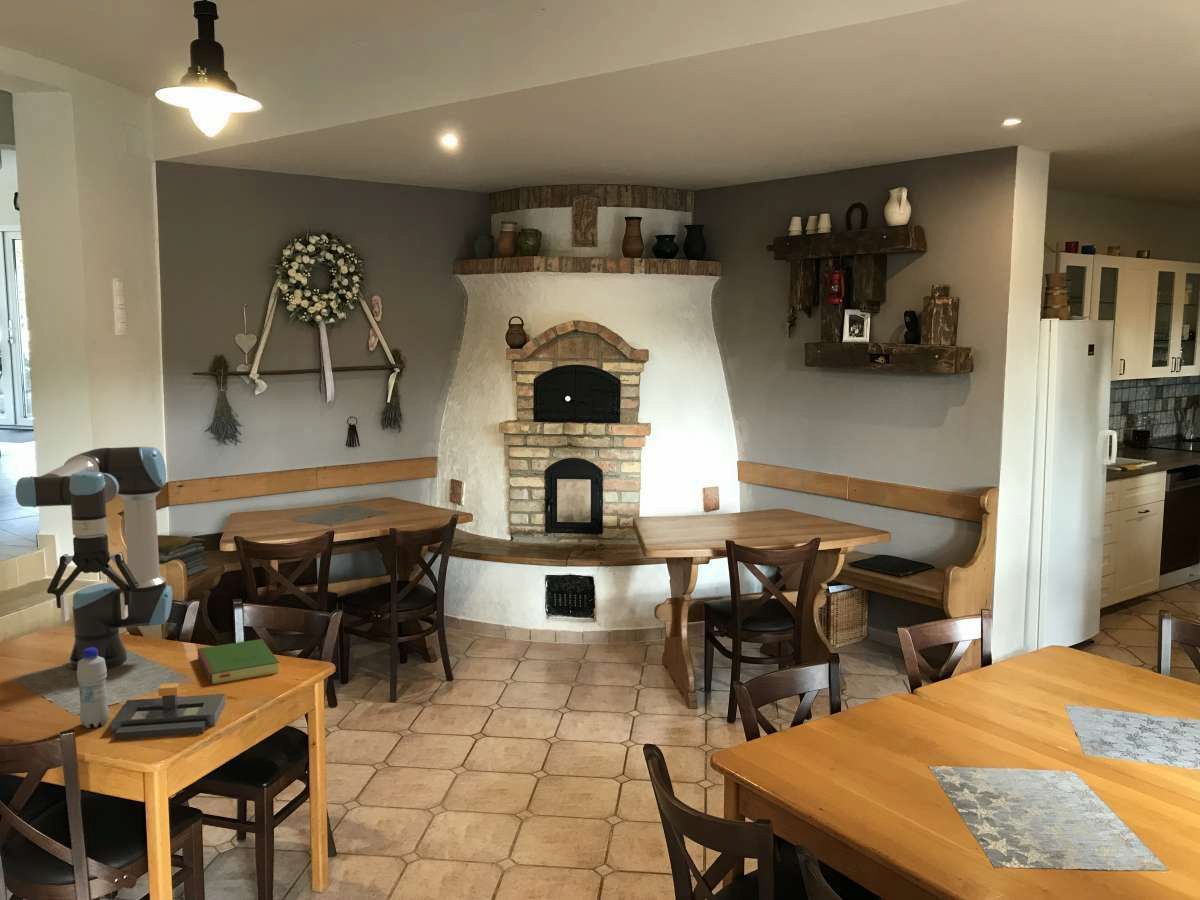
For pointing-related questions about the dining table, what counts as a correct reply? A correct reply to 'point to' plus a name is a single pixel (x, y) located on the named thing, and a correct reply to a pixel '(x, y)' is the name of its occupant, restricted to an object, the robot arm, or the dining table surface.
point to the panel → (170, 711)
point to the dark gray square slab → (160, 730)
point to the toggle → (169, 695)
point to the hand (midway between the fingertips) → (95, 619)
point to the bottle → (92, 688)
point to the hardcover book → (237, 661)
